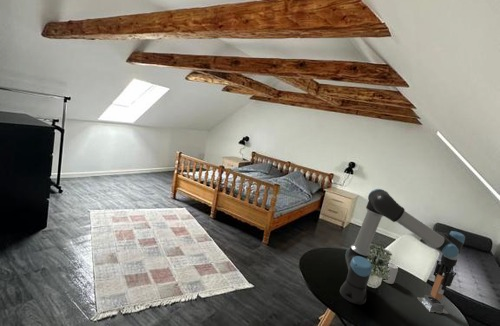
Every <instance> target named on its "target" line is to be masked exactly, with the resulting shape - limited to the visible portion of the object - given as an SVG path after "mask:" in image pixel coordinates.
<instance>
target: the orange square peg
mask: <svg viewBox="0 0 500 326" xmlns="http://www.w3.org/2000/svg"><path fill="white" fill-rule="evenodd" d="M436 274H437V273H436ZM443 278H444V274H442V275H438V274H437V277H436V280H435V279H434V281H435V283H434V282H433V285H432V289H431V292H430V296H433V297H434V298H435V299H439V300H441V299H442V298H443V295H444V293H443V294H438V291H439V288H440V285H441V283H443Z"/></svg>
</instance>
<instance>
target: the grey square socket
mask: <svg viewBox="0 0 500 326" xmlns="http://www.w3.org/2000/svg"><path fill="white" fill-rule="evenodd" d="M416 299H417V300H418V301H419V302H420V303H421V304H422V305H423V307H424V308H425V309H426V310H427V311H428V312H429V313H434V312H436V313H435V314H441V313H444V314H443V315H449V312H448V311H447V310H446V309H445V304H444V303H443V301H441V299H435V298H434V297H433V296H432V295H427V294H424V295H423V297H419V296H417V298H416Z"/></svg>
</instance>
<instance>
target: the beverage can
mask: <svg viewBox="0 0 500 326" xmlns="http://www.w3.org/2000/svg"><path fill="white" fill-rule="evenodd" d="M388 267H389V269H390V271H389V274H390V278H389V279H388V280H382V281H383V282H385V283H387V284H391V285H392V284H395V280H396V277H397V275H398V272H399V271H398V270H399V267H398V266H397V265H396V264H395V263H393V262H389V264H388Z"/></svg>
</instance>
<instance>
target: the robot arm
mask: <svg viewBox="0 0 500 326" xmlns="http://www.w3.org/2000/svg"><path fill="white" fill-rule="evenodd" d="M367 199H368V201H367V205H366V207H365V208H366V210H367V211H366V213H365V217H364V219H363V221H362V224H361V226H360V228H359V232H358V233H357V237H356V239H355V241H354V243H353V244H351V245H350V247H349V248H348V249H347V250H346V251H345V255H344V256H345V263H346V266H347V271H348V273H347V276H346V279H345V281H344V282H342V283H343V284H342V285H341V286H340V289H339V293H340V295H341V297H342V298H343V299H344V300H346V301H348V302H349V303H351V304H354V305H364V304H365V303H366V301H367V287H368V283H369V280H370V278H371V277H370V276H371V273H372V270H373V265H372V263H371V262H370V260H368V257H369V255H370V252H369V249H370V246H371V244H372V241H373V240H374V237H375V234H376V233H377V230H378V227H379V224H380V222H381V220H382V218H383V217H385V218H386V219H387V220H390V221H392V222H393V223H397V224H398V225H400V226H402V227H403V228H405V229H406V230H408V231H409V232H411V233H412V234H414V235H416V236H417V237H418V238H419V239H421V240H423V241H424V242H426V243H428V244H429V245H430V246H431V247H433V248H434V249H436V250H438V251H439V252H440V253H442V254H441V258H440V260H437V259H436V264H435V268H434V270H433V271H434V272H433V276H434V280H433V284H434V283H435V280H436V277H437V274H438V275H444V278H443V283H441V285H440V288H439V291H438V294H443V295H444V292H445V291H446V289H447V287H451V285H452V283H453V280H454V278H455V276H456V275H457V272H455V270H454V267H455V266H456V265H457V262H458V259H459V257H460V255H461V251H462V248H463V246H464V244H465V239H466V236H465V235H464V234H463V233H462V232H458V231H455V230H451V231H450V232H449V233H446V232H441V231H437V230H434V229H433V228H431V227H429V226H428V225H426V224H425V223H423V222H422V221H420V220H419V219H417V218H416V217H414V216H413V215H412V214H410V213H409V212H407V211H406V210H405V208H404V207H403V206H401V205H400V204H399V203H398V202H397V201H396V200H395V199H394V198H393V197H392V196H391V195H390V194H389V192H388V191H387V190H384V189H382V188H376V189H372V190H371V191H370V192H369V194H368V196H367Z"/></svg>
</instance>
